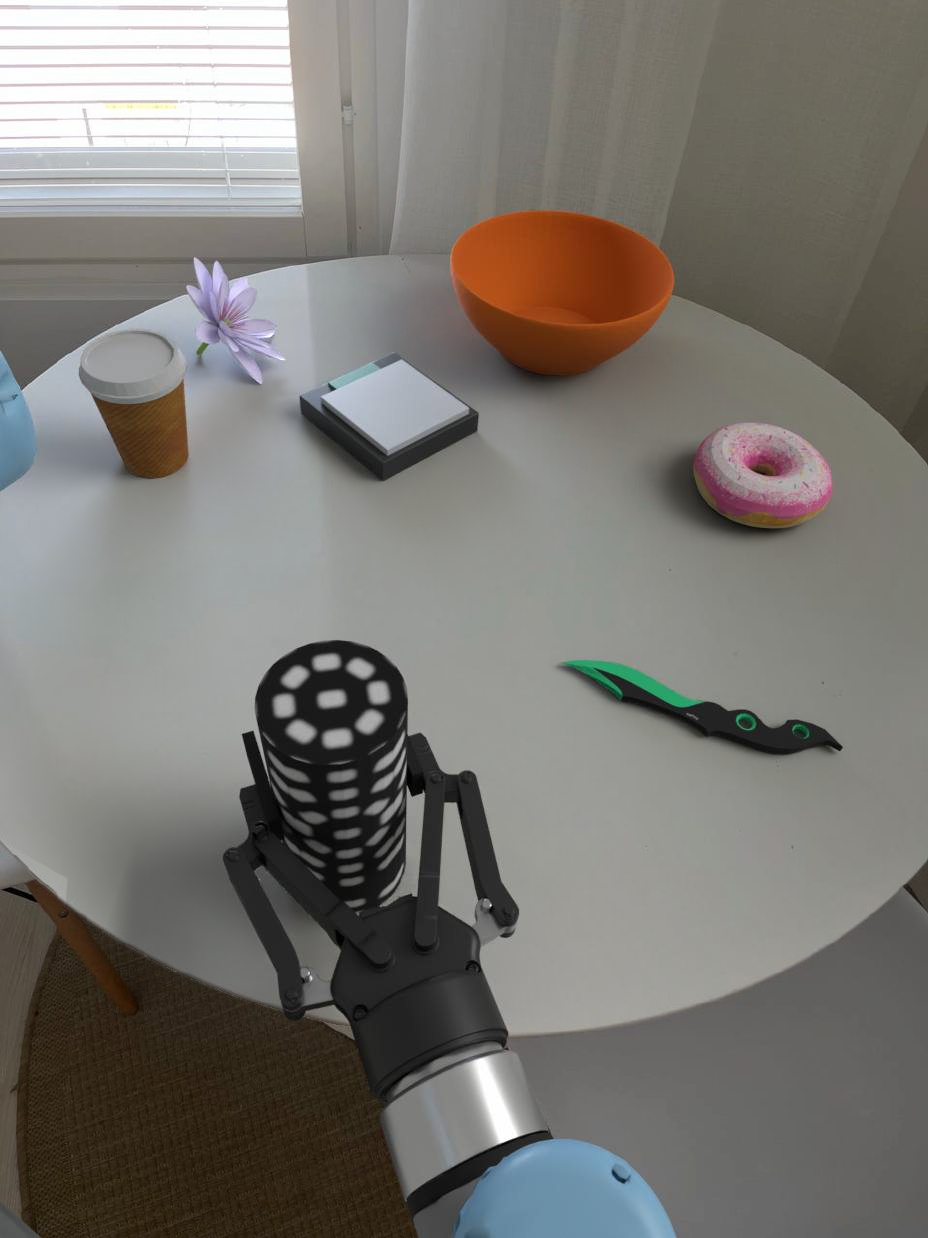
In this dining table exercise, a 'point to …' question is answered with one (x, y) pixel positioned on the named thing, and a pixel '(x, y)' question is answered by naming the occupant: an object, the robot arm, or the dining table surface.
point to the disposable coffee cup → (140, 398)
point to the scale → (389, 415)
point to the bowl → (559, 287)
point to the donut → (768, 500)
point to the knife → (704, 711)
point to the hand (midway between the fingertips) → (318, 723)
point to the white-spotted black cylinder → (339, 765)
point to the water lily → (230, 317)
